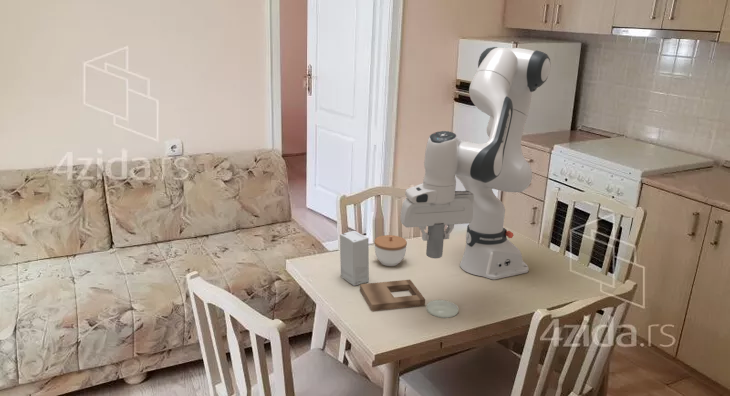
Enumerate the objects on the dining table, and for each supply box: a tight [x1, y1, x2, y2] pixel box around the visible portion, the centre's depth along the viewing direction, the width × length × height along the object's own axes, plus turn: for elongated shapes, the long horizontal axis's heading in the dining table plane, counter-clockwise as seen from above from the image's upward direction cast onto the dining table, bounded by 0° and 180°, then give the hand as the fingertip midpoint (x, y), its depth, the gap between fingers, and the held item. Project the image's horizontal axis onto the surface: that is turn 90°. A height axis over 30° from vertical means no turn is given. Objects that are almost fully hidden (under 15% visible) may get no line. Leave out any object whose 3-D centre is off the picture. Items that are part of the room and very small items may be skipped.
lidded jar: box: [374, 234, 408, 267], centre depth 199 cm, size 11×11×9 cm
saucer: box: [426, 299, 459, 319], centre depth 170 cm, size 9×9×1 cm
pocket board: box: [359, 279, 426, 312], centre depth 176 cm, size 16×13×2 cm
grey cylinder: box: [425, 223, 446, 259], centre depth 166 cm, size 4×4×10 cm
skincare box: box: [339, 230, 370, 287], centre depth 185 cm, size 8×6×15 cm
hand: (435, 239), depth 166 cm, fingers closed on grey cylinder, 5 cm apart
